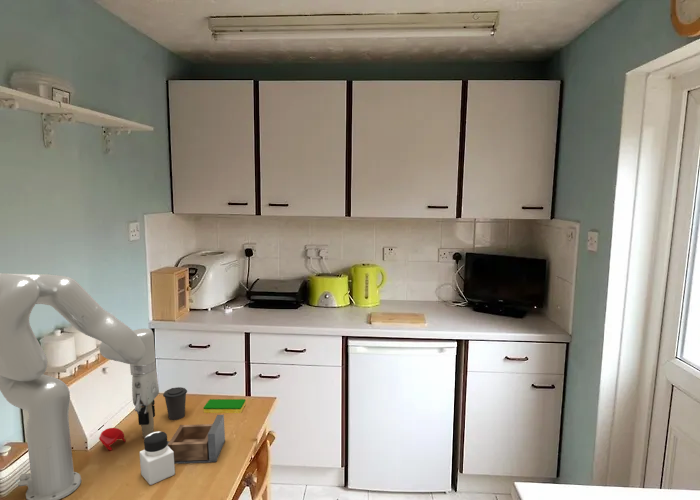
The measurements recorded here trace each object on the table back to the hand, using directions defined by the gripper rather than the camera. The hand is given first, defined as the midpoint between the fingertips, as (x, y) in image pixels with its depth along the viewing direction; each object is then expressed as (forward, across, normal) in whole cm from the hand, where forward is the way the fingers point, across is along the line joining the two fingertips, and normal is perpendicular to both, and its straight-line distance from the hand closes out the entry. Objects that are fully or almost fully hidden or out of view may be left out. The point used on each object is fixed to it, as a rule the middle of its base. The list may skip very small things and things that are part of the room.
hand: (147, 420), depth 149 cm
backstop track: (+6, -10, -16) cm, 20 cm away
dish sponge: (+6, +18, -21) cm, 28 cm away
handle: (+6, 0, 0) cm, 6 cm away
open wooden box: (+6, -10, -18) cm, 22 cm away
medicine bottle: (+6, -21, -11) cm, 25 cm away
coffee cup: (+6, +13, -5) cm, 15 cm away
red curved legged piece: (+6, -5, +9) cm, 12 cm away
